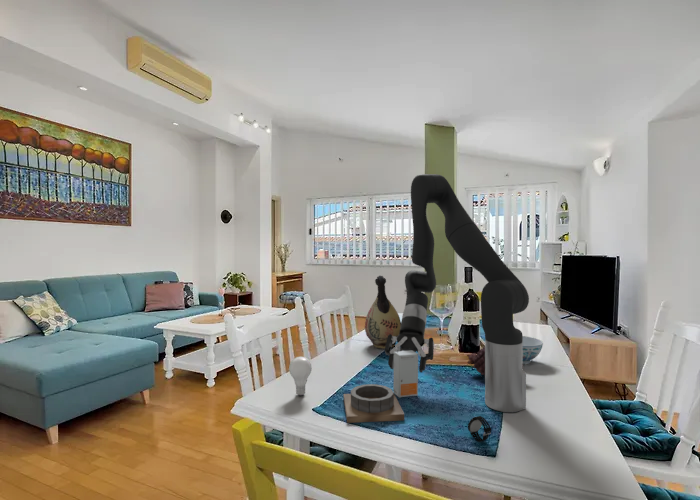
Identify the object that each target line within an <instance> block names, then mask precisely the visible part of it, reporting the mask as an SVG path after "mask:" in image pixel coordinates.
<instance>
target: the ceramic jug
mask: <svg viewBox="0 0 700 500" xmlns="http://www.w3.org/2000/svg"><path fill="white" fill-rule="evenodd" d="M374 283H375V285H376V286H377V296H376V298H375V299H374V302H373V303H372V305H371V306H370V308H369V310H368V312H367V315H366V317H365V320H364V321H365V322H364V331H365V335H366V337H367V338H368V339H369V341H370V342H371V343H372V345H373V347H374V348H377V349H383V350H384V349H385V345H386V342H387V338H388V335H389V334H391V335H392V336H395V337H397V336H398V335H399V332H400V326H401V321H402V320H401V318H400V315H399V313H398V311H397V309H396V308H395V306H394V305H393V303H392V302H391V301H390V300H389V299H388V297H387V293H386V285H385V284H386V283H387V279H386V278H385V277H384V276H383V275H378V276H377V277H376V279H375V280H374ZM396 344H397V341H395V343H394V344H392V347H391V348H394V346H395V345H396Z"/></svg>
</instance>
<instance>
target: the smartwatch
mask: <svg viewBox="0 0 700 500" xmlns="http://www.w3.org/2000/svg"><path fill="white" fill-rule="evenodd" d="M481 428H483V436H482V437H481V435H480V434H479V430H480V429H481ZM467 429H468V431H469V432H470V434H471V437H472V438H473V439H474V440H475V441H476V442H478V443H482V442H484V441H485V442H486V441H487V440H488V439H489V435H491V433H492V427H491V426H490V424H489V422H488V421H487V420H486V418H484V417H483V416H481V415H478V416H475V417H474V416H473V417H472V418H471V419H470V420H469V422H468V424H467Z"/></svg>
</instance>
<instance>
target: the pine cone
mask: <svg viewBox="0 0 700 500" xmlns="http://www.w3.org/2000/svg"><path fill="white" fill-rule="evenodd" d="M466 357H468V358H467V359H468V360H467V364H468V365H473V368H474V369H475V370H476V371H477V372H478V373H479V374H480V375H482V376H485V347H483V348H480V349H479V350H478V351H477V352H473V353H470V354H467V356H466Z"/></svg>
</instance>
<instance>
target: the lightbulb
mask: <svg viewBox="0 0 700 500" xmlns="http://www.w3.org/2000/svg"><path fill="white" fill-rule="evenodd" d="M288 367H289V368H288V371H289V374H290V375H291V377H292V379H293V381H294V385H295V394H296V395H297V396H299V397H301V396H303V395H305V394H306V384H307V380H308V378H309V376H310V375H311V373H312V370H313V369H312V368H313V367H312V363H311V361H310V360H309V359H308V358H307V357H305V356H297V357H294V358H293V359H292V360H291V362H290V363H289V366H288Z"/></svg>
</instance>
